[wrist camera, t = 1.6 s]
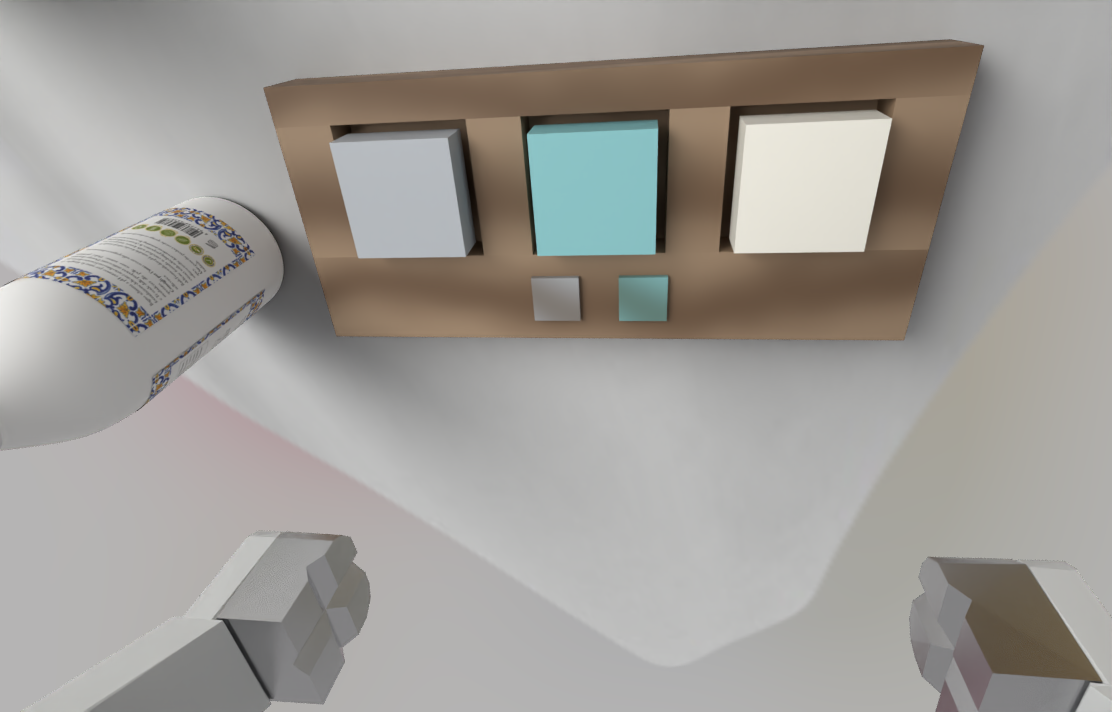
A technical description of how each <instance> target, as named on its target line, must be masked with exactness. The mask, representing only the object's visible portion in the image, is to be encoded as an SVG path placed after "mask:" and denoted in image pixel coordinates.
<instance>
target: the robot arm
mask: <svg viewBox="0 0 1112 712" xmlns="http://www.w3.org/2000/svg"><path fill="white" fill-rule="evenodd" d="M356 554H357V551H356V548H355V546H354V544H353V541H352V539H351V537H348V536H343V535H331V534H316V533H301V532H279V531H263V530H259V531H257V532H255V533H253V534H251V535H249V536H248V537H247V538H246V540H245V541H244V542H243V543H242V544H241V546H240V547H239V548H238V549H237V551H236V552H235V553H234V554H233V555H232V557H231V558H230V559H229V560H228V562H227V563H226V564H225V565H224V567H223V568H222V569H221V570H220V572H219V573H218V574H217V575H216V576H215V578H214V579H213V580H212V581H211V583H210V584H209V585H208V586H207V588H206V589H205V590H204V591H203V592H202V594H201V595H200V596H199V597H198V598H197V600H196V601H195V602H194V603H193V605H192V606H191V607H190V608H189V610H188V611H187V612H186V613H185V614H184V616H183V617H172V618H170V619H169V620H167V621H166V622H164V623H162V624H161V625H159V626H158V627H156V628H154V629H153V630H151V631H149V632H148V633H146V634H145V635H143V636H141V637H140V638H138V639H137V640H135V641H133V642H132V643H130V644H128V645H127V646H125V647H124V648H122V649H120V650H119V651H117V652H116V653H114V654H112V655H111V656H109V657H108V658H106V659H105V660H103V661H101V662H99V663H98V664H96V665H95V666H93V667H91V668H90V669H88V670H87V671H85V672H83V673H82V674H80V675H79V676H77V677H75V678H74V679H72V680H70V681H69V682H67V683H66V684H64V685H63V686H61V687H59V688H58V689H56V690H55V691H53V692H51V693H50V694H48V695H46V696H45V697H43V698H42V699H40V700H38V701H37V702H35V703H33V704H32V705H30V706H29V707H27V708H25V709H24V710H22V711H21V712H263V711H265V710H266V709H267V708H268V707H269V706H270V705H271V702H270V701H282V702H296V703H310V704H324V702H325V700H326V698H327V696H328V694H329V692H330V690H331V688H332V686H333V684H334V682H335V680H336V678H337V676H338V674H339V672H340V670H341V669H342V667H343V665H344V663H345V659H344V654H343V647H344V646H345V645H346V644H347V643H348V642H350V641H351V640H352V639H354V638H355V637H356V636H357V635H359V633H360V630H361V628H362V626H363V624H364V622H365V620H366V618H367V613H368V608H369V603H370V586H369V581H368V579H367V576H366V573H365V572H364V571H363V570H362V569H360V568H359V567H358V566H357V565H356V564H354V563H353V560H354V557H355V556H356ZM919 579H920V582H921V584H922V586H923V589H924V591H925V593H923V594H922V595H920V596H919V597H917V598H916V599H915V600H913V602H912V608H911V612H910V618H909V621H910V637H911V643H912V647H913V651H914V655H915V659H916V662H917V664H918V667H919V670H920V673H921V675H922V677H923V678H924V679H925V680H926V681H928V682H929V683H930V684H931V685H932V686H933V687H934V688H935V689H936V690H938V691H939V692H940V693H941V694H940V698H939V701H938V705H937V708H936V712H1112V617H1111V615H1110V614H1109V613H1108V611H1107V610H1106V609H1105V607H1104V606H1103V605H1102V603H1101V602H1100V601H1099V599H1098V598H1097V597H1096V595H1095V594H1094V593H1093V591H1092V590H1091V589H1090V587H1089V586H1088V585H1087V583H1086V582H1085V581H1084V579H1083V578H1082V577H1081V575H1080V574H1079V573H1078V571H1077V570H1076V569H1075V568H1074V567H1073V566H1071V565H1070V564H1068V563H1067V562H1065V561H1048V560H1012V559H992V558H956V557H927V558H926V560H925V561H924V562H923V563H922V566H921V570H920V573H919Z"/></svg>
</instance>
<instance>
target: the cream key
mask: <svg viewBox="0 0 1112 712" xmlns="http://www.w3.org/2000/svg"><path fill="white" fill-rule="evenodd" d="M891 122H892V118H890V117H888V116H887V115H885V114H883V113H881V112H879V111H877V110H857V111H835V112H813V113H791V114H769V115H747V116H740V119H739V130H738V141H737V153H736V164H735V176H734V187H733V199H732V210H731V221H730V233H729V239H730V242H731V245H732V248H733V251H734V253H803V252H864V249H865V245H866V240H867V235H868V231H869V226H870V221H871V216H872V212H873V207H874V202H875V198H876V193H877V188H878V183H879V179H880V174H881V169H882V165H883V160H884V155H885V151H886V146H887V141H888V136H889V132H890V127H891Z"/></svg>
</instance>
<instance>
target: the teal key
mask: <svg viewBox="0 0 1112 712" xmlns="http://www.w3.org/2000/svg"><path fill="white" fill-rule="evenodd" d="M527 142H528V153H529V165H530V176H531V187H532V199H533V210H534V222H535V233H536V244H537V256H574V255H650V254H655V251H656V204H657V156H658V120H637V121H615V122H593V123H571V124H549V125H534V126H533V128H532V129H531V130H530V131H529V132H528V134H527Z"/></svg>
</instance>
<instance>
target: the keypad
mask: <svg viewBox="0 0 1112 712" xmlns="http://www.w3.org/2000/svg"><path fill="white" fill-rule="evenodd" d="M983 48H984V45H979V44H973V43H968V42H962V41H956V40H934V41H918V42H901V43H885V44H868V45H851V46H835V47H818V48H802V49H785V50H769V51H752V52H736V53H719V54H703V55H686V56H670V57H653V58H637V59H620V60H604V61H587V62H570V63H554V64H537V65H521V66H504V67H488V68H471V69H455V70H438V71H422V72H405V73H389V74H372V75H356V76H339V77H323V78H306V79H295V80H291V81H287V82H283V83H279V84H276V85H272V86H268V87H264V92H265V95H266V99H267V102H268V105H269V109H270V112H271V116H272V119H273V122H274V126H275V129H276V133H277V136H278V139H279V143H280V146H281V150H282V153H283V156H284V160H285V163H286V167H287V170H288V173H289V177H290V180H291V183H292V187H293V190H294V194H295V197H296V200H297V204H298V207H299V211H300V214H301V217H302V221H303V224H304V228H305V231H306V234H307V238H308V241H309V245H310V248H311V251H312V255H313V258H314V261H315V265H316V268H317V272H318V275H319V278H320V282H321V285H322V289H323V292H324V295H325V299H326V302H327V306H328V309H329V312H330V316H331V319H332V323H333V326H334V329H335V333H336V336H373V337H513V338H653V339H793V340H904V339H905V335H906V331H907V328H908V324H909V320H910V317H911V313H912V309H913V305H914V302H915V298H916V294H917V291H918V287H919V283H920V280H921V276H922V272H923V269H924V265H925V261H926V258H927V254H928V250H929V246H930V243H931V239H932V235H933V232H934V228H935V224H936V221H937V217H938V213H939V210H940V206H941V202H942V199H943V195H944V191H945V188H946V184H947V180H948V176H949V173H950V169H951V165H952V162H953V158H954V154H955V151H956V147H957V143H958V140H959V136H960V132H961V129H962V125H963V121H964V118H965V114H966V110H967V106H968V103H969V99H970V95H971V92H972V88H973V84H974V81H975V77H976V73H977V70H978V66H979V62H980V59H981V55H982V51H983ZM857 110H877V111H879V112H881V113H883V114H885V115H887V116H888V117H890V118H892V122H891V127H890V132H889V136H888V141H887V146H886V151H885V155H884V160H883V165H882V169H881V174H880V179H879V183H878V188H877V193H876V198H875V202H874V207H873V212H872V216H871V221H870V226H869V231H868V235H867V240H866V245H865V249H864V252H803V253H734V251H733V248H732V245H731V242H730V239H729V233H730V221H731V210H732V199H733V187H734V176H735V164H736V153H737V141H738V130H739V119H740V116H747V115H769V114H791V113H813V112H835V111H857ZM637 120H658V156H657V204H656V251H655V254H650V255H574V256H537V244H536V233H535V222H534V210H533V199H532V187H531V176H530V165H529V153H528V142H527V134H528V132H529V131H530V130H531V129H532V128H533V126H534V125H549V124H571V123H593V122H615V121H637ZM439 129H460V133H461V140H462V147H463V154H464V161H465V168H466V175H467V182H468V189H469V196H470V203H471V210H472V217H473V224H474V231H475V238H476V243H475V244H474V246H473V247H472V249H471V250H470V252H469V253H468V255H467V256H466V257H421V258H358V255H357V251H356V247H355V243H354V239H353V235H352V231H351V227H350V223H349V219H348V216H347V212H346V208H345V204H344V200H343V196H342V192H341V188H340V184H339V180H338V176H337V172H336V168H335V164H334V160H333V156H332V152H331V148H330V144H329V143H330V142H332V141H334V140H336V139H338V138H340V137H342V136H344V135H346V134H351V133H373V132H395V131H417V130H439Z"/></svg>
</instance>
